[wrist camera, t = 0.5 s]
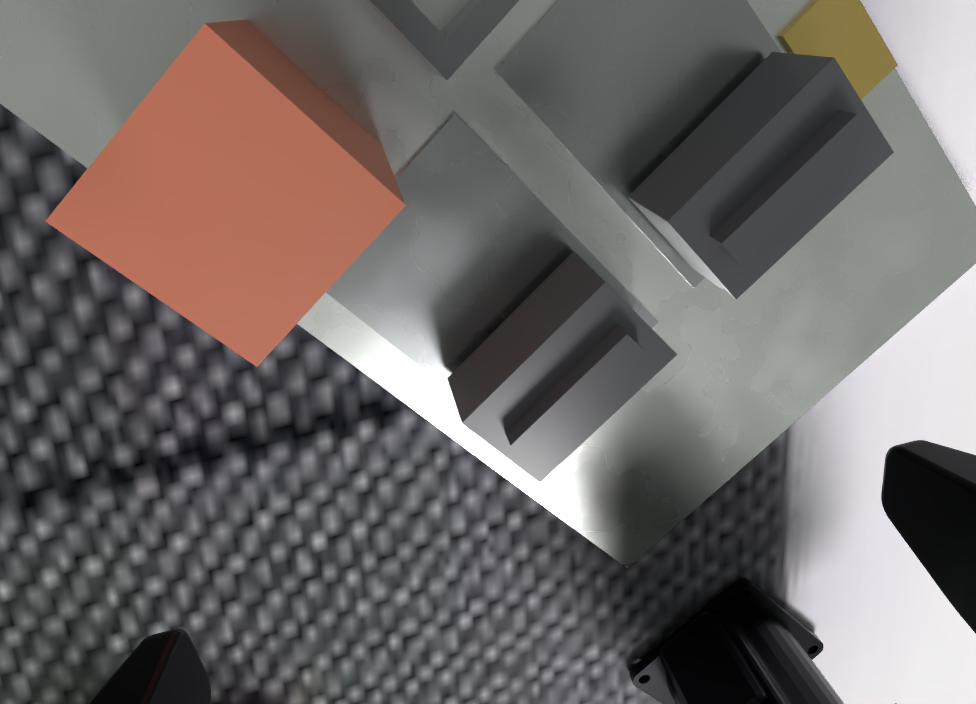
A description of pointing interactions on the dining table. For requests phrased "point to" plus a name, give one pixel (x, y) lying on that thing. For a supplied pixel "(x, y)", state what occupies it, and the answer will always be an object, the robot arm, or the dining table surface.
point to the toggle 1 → (557, 369)
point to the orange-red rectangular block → (234, 191)
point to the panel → (558, 204)
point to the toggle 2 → (763, 169)
